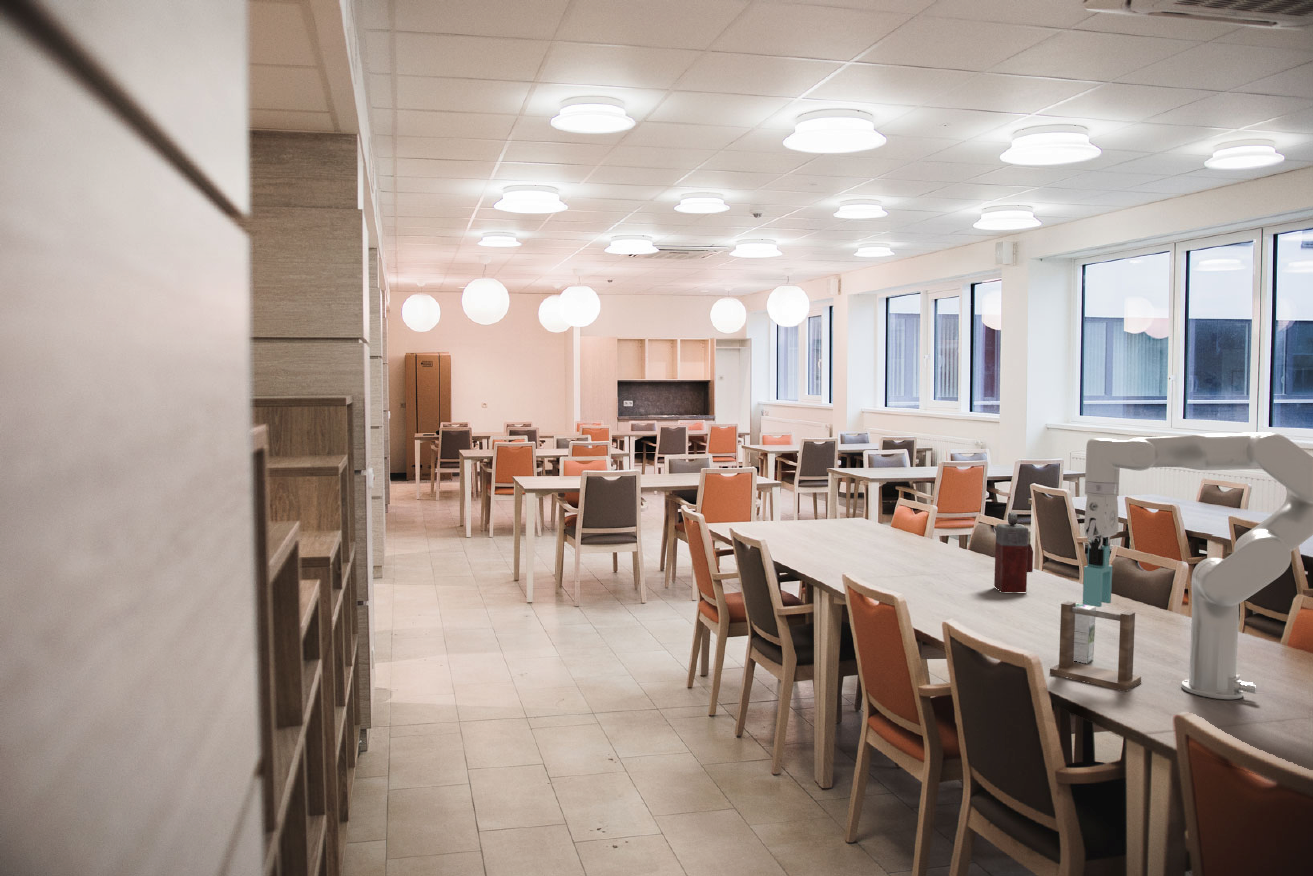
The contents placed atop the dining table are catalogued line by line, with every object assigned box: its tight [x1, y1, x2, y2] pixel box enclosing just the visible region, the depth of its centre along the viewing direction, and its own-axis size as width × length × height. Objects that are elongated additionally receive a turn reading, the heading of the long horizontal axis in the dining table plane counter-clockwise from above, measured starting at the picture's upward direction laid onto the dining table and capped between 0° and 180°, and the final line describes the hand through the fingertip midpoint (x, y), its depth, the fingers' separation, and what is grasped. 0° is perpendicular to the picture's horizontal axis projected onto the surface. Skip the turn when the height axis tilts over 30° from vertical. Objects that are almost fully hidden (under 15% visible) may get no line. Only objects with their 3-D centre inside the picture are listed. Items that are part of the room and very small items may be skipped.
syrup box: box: [1073, 602, 1097, 665], centre depth 247 cm, size 6×6×14 cm
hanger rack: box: [1049, 601, 1142, 692], centre depth 231 cm, size 18×10×18 cm, turn 45°
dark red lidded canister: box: [993, 512, 1034, 593], centre depth 335 cm, size 9×11×28 cm
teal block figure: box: [1082, 544, 1113, 608], centre depth 230 cm, size 4×7×14 cm, turn 135°
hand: (1098, 563), depth 230 cm, fingers closed on teal block figure, 3 cm apart
